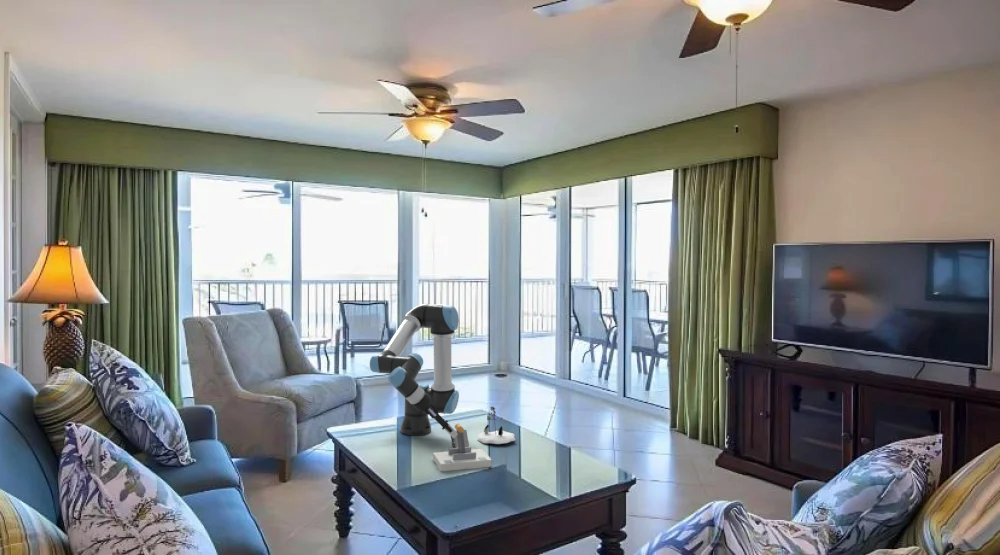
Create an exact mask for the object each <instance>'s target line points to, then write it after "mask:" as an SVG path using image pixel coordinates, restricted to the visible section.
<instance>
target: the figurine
mask: <svg viewBox="0 0 1000 555" xmlns="http://www.w3.org/2000/svg"><path fill="white" fill-rule="evenodd" d="M489 408H490V411H489V412H490V415H486V420H487V421H492V420H493V422H494V424H496V421H500V420H502V419H504V418H503V417H500V418H495V416H497V415H496V414H497V413H496V411H495V410H496V407H494V406H490V407H489ZM491 411H493V412H491ZM491 416H492V417H493V418H491ZM477 441H479V442H480V443H482V444H492V445H493V444H494V445H501V444H508V443H511V442H515V441H516V438H515V433H512V432H508V431H505V430H503V426H500V427H499V428H498V430H497V429H496V426H494V431H490V425H489V424H486V426H485V428H484V430H483V431H482V432H481V433H479V434H478V435H477Z"/></svg>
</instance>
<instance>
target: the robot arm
mask: <svg viewBox="0 0 1000 555" xmlns="http://www.w3.org/2000/svg"><path fill="white" fill-rule="evenodd" d="M459 321H460V320H459V312H458V310H457V308H456V307H455V306H454V305H448V304H437V303H436V304H435V303H434V304H432V303H422V304H418V305H417V306H415V307H413V308H411V309H410V310H409V311H408V312H406V313H405V314H404V316H403V317H402V319H401V322H400V323H401V324H400V325H399V327H398V328H397V330H396V331H395V333H394V334H393V335H392V337H391V339H389V342H388V343H387V345H386V346H385V347H384V348H383V349H382V350H383V351H382V352H381V353H380V354H373V355H372V356H371V358H370V361H369V368H370V370H371V372H373V373H378V374H386V375H387V374H388V378H387V379H388V381H389V383H390V384H391V385H392V387H393V388H394V389H396V390H397V391H398V392H399V393H400V394H401V395H402V396H403V397H404V415H403V416H404V417H403V418H402V419H403V420H402V422H401V425H400V430H399V431H400V432H401V434H403V435H406V436H407V435H408V436H423V435H427V434H429V433H431V431H432V425H431V422H430V418H429V417H431V419H434V420H435V421H436V422H437V424H439V425H440V426H441V429H442V430H445V431H446V432H447V433H448V434H449V436H450V437H451V436H452V437H453V438H455V437H456V436H457V435H458V433H457V431H456V429H454V428H453V427H452V426H451V425H450V423H448V422H449V421H448V420H445V419H444V418H443V417H442V416H441V415H440V414H443V415H446V414H447V415H451V414H453V413H455V410H456V409H457V406H458V405H459V404H458V403H459V398H460V392H459V391H458V390H457V389H455V384H454V383H453V382H452V381H453V380H452V375H453V374H452V372H453V371H452V336H453V335H454V334H455V331H456V330H457V329H458V327H459V323H460V322H459ZM425 328H426V329H430V330H429V331H430V334H431V335H432V336H433V384H432V385H431V386H430V385H429V383H418V382H417V381H416V380H415V379H416V378H417V376H418V375H419V373H420V371H421V370H422V367H423V365H424V359H423V357H422V356H421V355H420V354H419V353H417V352H411V353H409V354H408V355H407V356H406V357H405V356H401V355H402V354H403V352H404V350H405V349H406V347H407V345H408V344H409V343H410V341H411V339H412V338H413V336H414V335H415V334H416V333H417V332H419V331H420V329H425Z"/></svg>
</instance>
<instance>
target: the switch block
mask: <svg viewBox="0 0 1000 555" xmlns="http://www.w3.org/2000/svg"><path fill="white" fill-rule="evenodd" d="M447 450H448V451H438V452H432V460H433V462H434V464H435V465H436V468H438V469H439V471H440V472H448V471H460V470H470V469H479V468H480V469H482V468H490V467H492V464H493V463H492V461H493V460H492V459H491V457H490V456H489V454H487V453H486V452H485V451H484V450H483V449H482V448H477V449H476V448H475V449H474V448H473V449H472V446H469V447H465V453H459V452H458V450H459V449H458V448H453V447H452V448H451V447H450V448H448V449H447Z"/></svg>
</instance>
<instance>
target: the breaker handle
mask: <svg viewBox="0 0 1000 555" xmlns="http://www.w3.org/2000/svg"><path fill="white" fill-rule="evenodd" d="M454 428H455V431H456V432H457V433H458V435H457V440H458V449H459V450H458V452H459V453H465V444H464V436H463V432H464V430H465V428H464V427H463V426H462V425H461V424H460V423H456V424H455V425H454Z"/></svg>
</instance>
